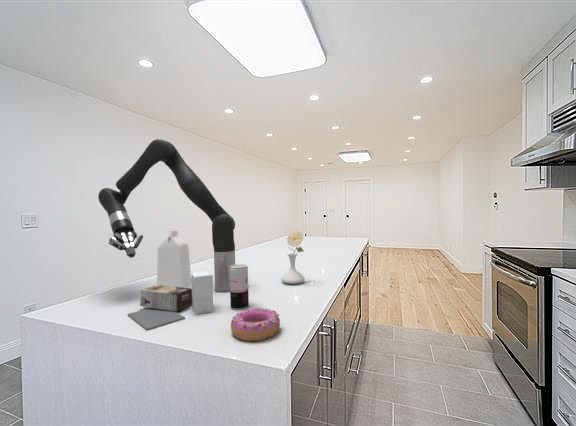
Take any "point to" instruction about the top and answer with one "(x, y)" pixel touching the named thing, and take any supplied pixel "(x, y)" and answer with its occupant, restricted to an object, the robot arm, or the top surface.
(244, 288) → the beverage can
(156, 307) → the coffee box
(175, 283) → the milk
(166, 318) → the mat
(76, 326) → the top surface
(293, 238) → the flower in vase
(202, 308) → the small box
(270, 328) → the donut
